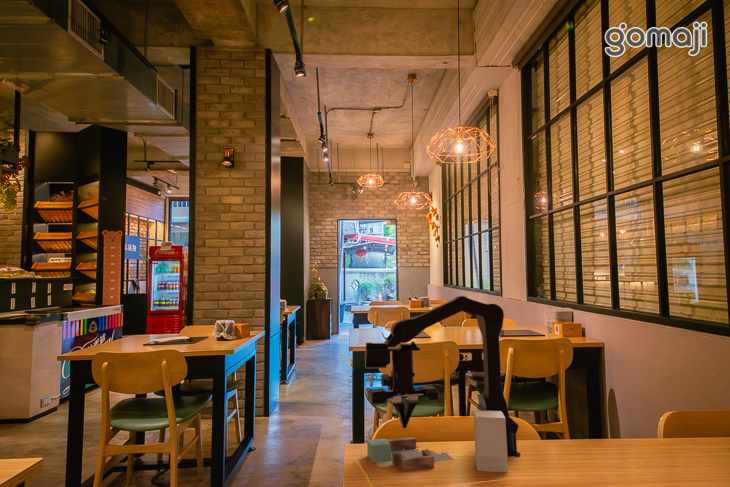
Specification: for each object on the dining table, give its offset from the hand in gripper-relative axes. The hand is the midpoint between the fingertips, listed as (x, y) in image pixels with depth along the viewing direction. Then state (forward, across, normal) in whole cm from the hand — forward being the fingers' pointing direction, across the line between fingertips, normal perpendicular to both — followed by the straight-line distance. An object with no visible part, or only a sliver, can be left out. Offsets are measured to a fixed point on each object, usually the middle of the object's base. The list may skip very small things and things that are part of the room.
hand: (404, 427), depth 114 cm
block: (+7, +7, 0) cm, 10 cm away
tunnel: (+7, 0, +2) cm, 8 cm away
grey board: (+7, -1, 0) cm, 7 cm away
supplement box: (+8, -18, +12) cm, 23 cm away
